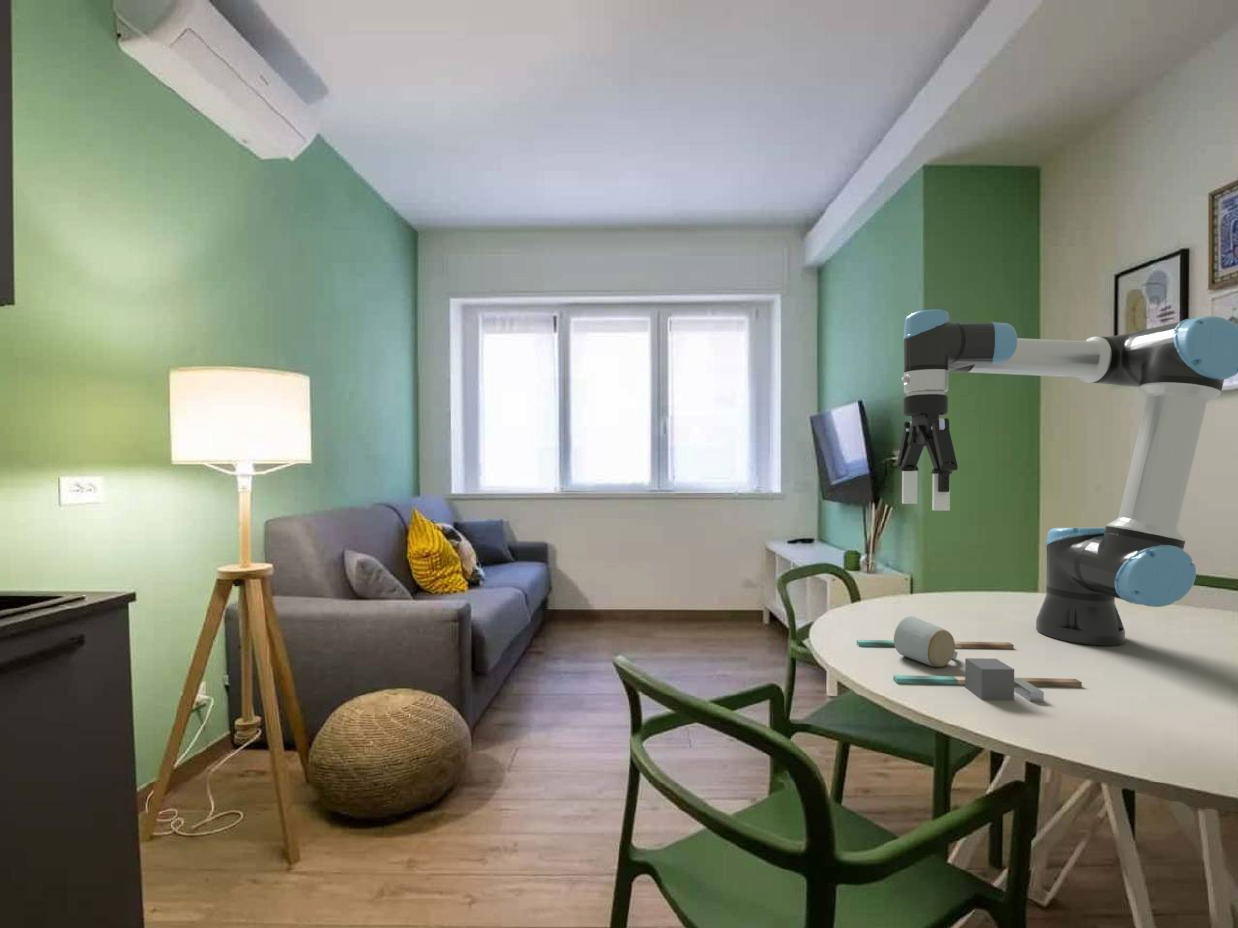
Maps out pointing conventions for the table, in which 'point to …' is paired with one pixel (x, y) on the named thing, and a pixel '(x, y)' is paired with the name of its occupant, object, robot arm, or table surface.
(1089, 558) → the robot arm
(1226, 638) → the table surface
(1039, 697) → the bar
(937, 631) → the ceramic mug
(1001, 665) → the block
